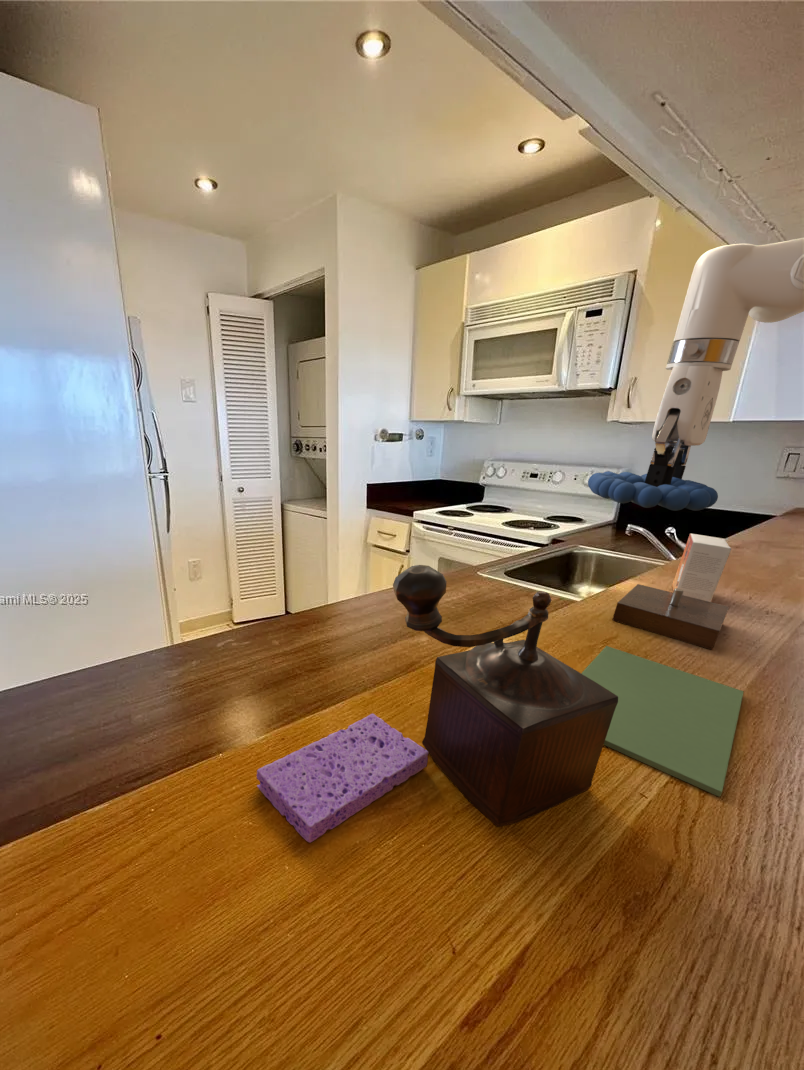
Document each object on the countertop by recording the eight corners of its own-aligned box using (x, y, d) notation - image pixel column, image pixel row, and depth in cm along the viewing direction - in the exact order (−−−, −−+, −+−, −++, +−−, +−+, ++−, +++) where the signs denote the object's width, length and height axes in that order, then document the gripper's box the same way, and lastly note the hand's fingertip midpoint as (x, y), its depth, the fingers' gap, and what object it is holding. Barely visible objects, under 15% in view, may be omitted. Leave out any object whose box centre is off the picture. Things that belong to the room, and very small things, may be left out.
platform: (632, 599, 83) (641, 570, 81) (722, 623, 75) (735, 591, 73) (612, 620, 74) (621, 587, 72) (712, 650, 66) (726, 614, 64)
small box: (671, 585, 91) (689, 532, 87) (706, 592, 89) (726, 538, 85) (672, 598, 85) (692, 541, 81) (710, 605, 82) (732, 547, 78)
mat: (605, 649, 64) (606, 645, 64) (742, 695, 55) (744, 691, 55) (543, 717, 48) (544, 713, 48) (719, 797, 40) (722, 792, 39)
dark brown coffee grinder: (501, 715, 48) (537, 545, 42) (593, 790, 39) (659, 589, 33) (367, 755, 42) (384, 560, 35) (441, 856, 33) (485, 620, 26)
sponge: (427, 769, 40) (429, 751, 40) (307, 847, 33) (307, 827, 32) (371, 727, 45) (373, 711, 45) (255, 786, 37) (255, 768, 37)
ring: (740, 516, 59) (748, 494, 58) (619, 509, 60) (625, 486, 59) (665, 491, 76) (671, 473, 75) (571, 485, 77) (575, 467, 76)
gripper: (720, 349, 57) (672, 501, 63) (745, 364, 68) (702, 492, 75) (651, 351, 61) (613, 492, 68) (685, 364, 73) (650, 485, 80)
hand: (660, 491), depth 71 cm, fingers closed on ring, 4 cm apart
